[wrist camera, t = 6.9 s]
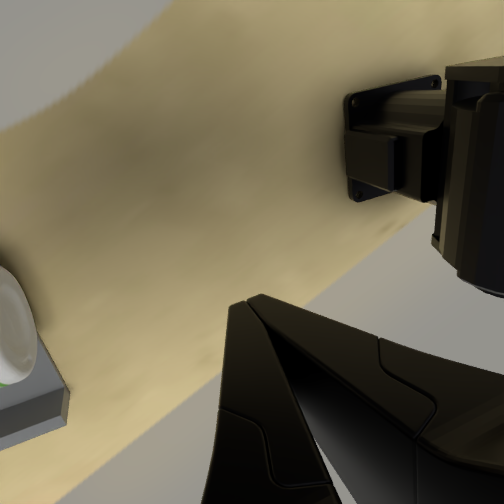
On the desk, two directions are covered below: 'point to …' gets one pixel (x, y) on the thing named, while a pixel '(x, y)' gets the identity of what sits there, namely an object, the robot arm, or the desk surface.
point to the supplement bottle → (15, 332)
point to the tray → (33, 402)
